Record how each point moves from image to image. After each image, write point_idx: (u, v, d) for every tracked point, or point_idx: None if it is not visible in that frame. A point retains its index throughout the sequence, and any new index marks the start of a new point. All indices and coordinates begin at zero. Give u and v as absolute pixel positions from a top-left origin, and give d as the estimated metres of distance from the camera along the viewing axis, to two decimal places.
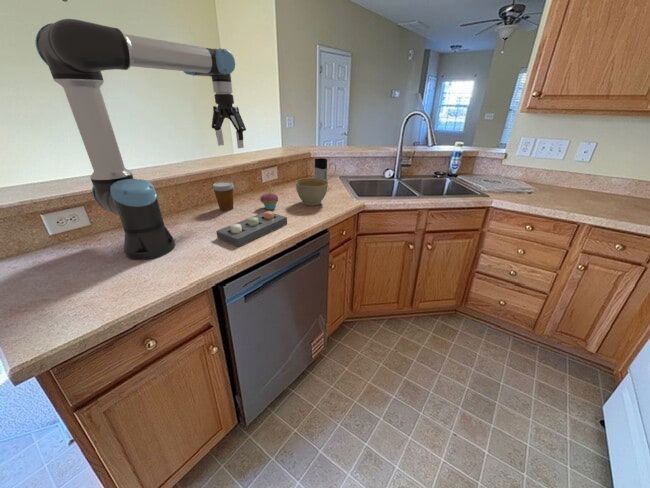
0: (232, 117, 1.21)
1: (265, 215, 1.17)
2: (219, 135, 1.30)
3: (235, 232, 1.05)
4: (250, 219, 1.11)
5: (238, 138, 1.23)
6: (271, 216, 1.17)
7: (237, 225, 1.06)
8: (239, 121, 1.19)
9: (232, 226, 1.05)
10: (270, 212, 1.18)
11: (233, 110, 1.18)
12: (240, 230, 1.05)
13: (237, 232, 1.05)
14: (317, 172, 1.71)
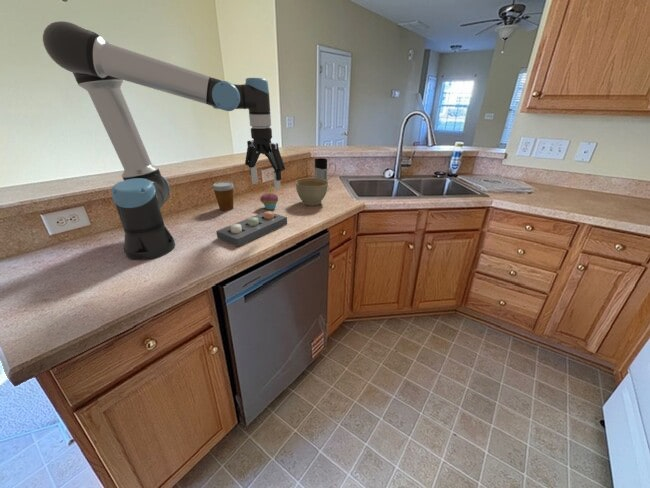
0: (270, 154, 1.05)
1: (265, 215, 1.17)
2: (254, 173, 1.14)
3: (235, 232, 1.05)
4: (250, 219, 1.11)
5: (275, 178, 1.07)
6: (271, 216, 1.17)
7: (237, 225, 1.06)
8: (278, 160, 1.03)
9: (232, 226, 1.05)
10: (270, 212, 1.18)
11: (272, 147, 1.02)
12: (240, 230, 1.05)
13: (237, 232, 1.05)
14: (317, 172, 1.71)
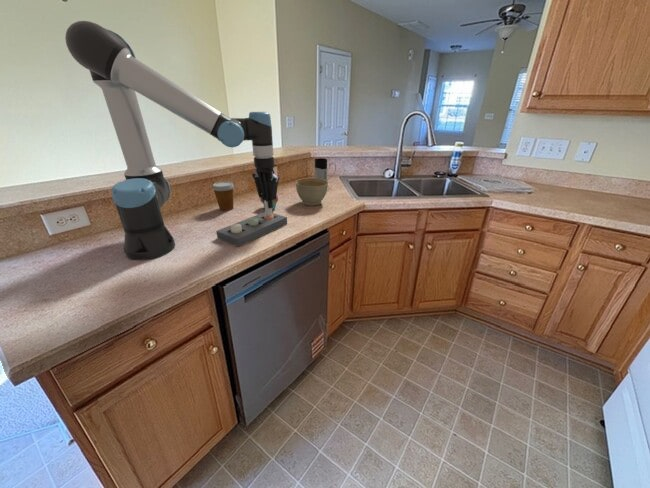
0: (268, 184, 1.11)
1: (265, 218, 1.17)
2: None
3: (235, 232, 1.05)
4: (250, 219, 1.11)
5: (267, 206, 1.15)
6: None
7: (237, 225, 1.06)
8: (273, 191, 1.11)
9: (232, 226, 1.05)
10: (270, 215, 1.19)
11: (273, 180, 1.08)
12: (240, 230, 1.05)
13: (237, 232, 1.05)
14: (317, 172, 1.71)
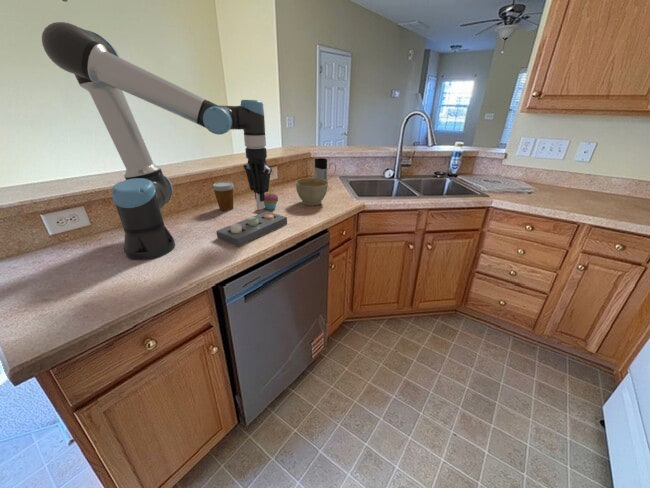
0: (260, 176, 1.07)
1: (265, 218, 1.17)
2: None
3: (235, 232, 1.05)
4: (250, 219, 1.11)
5: (259, 199, 1.11)
6: None
7: (237, 225, 1.06)
8: (265, 184, 1.07)
9: (232, 226, 1.05)
10: (270, 215, 1.19)
11: (265, 172, 1.04)
12: (240, 230, 1.05)
13: (237, 232, 1.05)
14: (317, 172, 1.71)
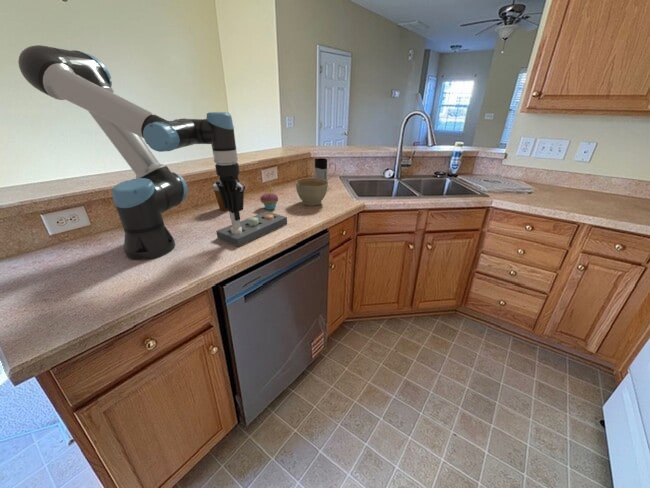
0: (233, 193, 0.99)
1: (265, 218, 1.17)
2: None
3: (235, 234, 1.05)
4: (250, 219, 1.11)
5: (234, 218, 1.03)
6: None
7: None
8: (239, 202, 0.98)
9: (232, 228, 1.05)
10: (270, 215, 1.19)
11: (237, 190, 0.95)
12: (240, 232, 1.06)
13: None
14: (317, 172, 1.71)
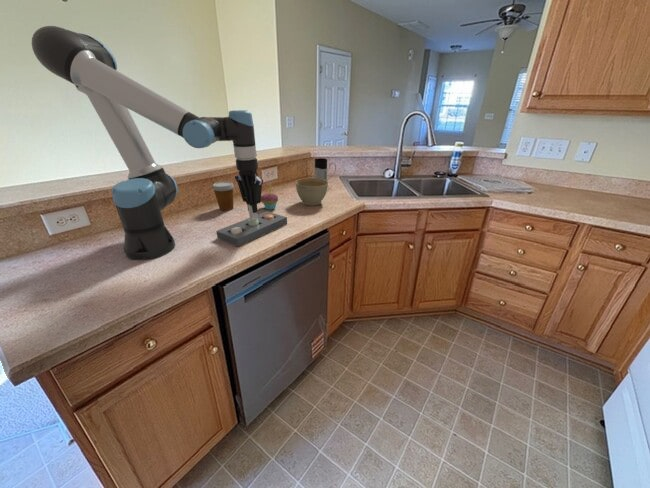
0: (252, 187, 1.05)
1: (265, 218, 1.17)
2: None
3: None
4: None
5: (252, 211, 1.09)
6: None
7: (237, 228, 1.07)
8: (257, 195, 1.04)
9: (233, 229, 1.06)
10: (270, 215, 1.19)
11: (256, 183, 1.01)
12: None
13: None
14: (317, 172, 1.71)
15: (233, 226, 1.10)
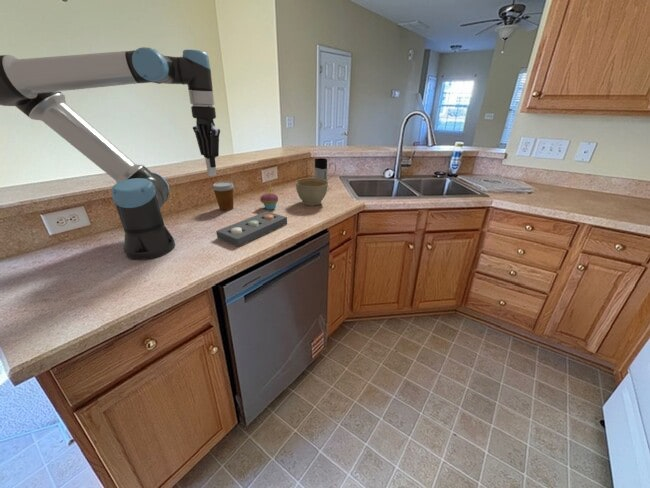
0: (209, 138, 0.99)
1: (265, 218, 1.17)
2: None
3: None
4: (250, 222, 1.12)
5: (209, 165, 1.03)
6: None
7: (237, 228, 1.07)
8: (214, 147, 0.99)
9: (233, 229, 1.06)
10: (270, 215, 1.19)
11: (212, 133, 0.96)
12: None
13: None
14: (317, 172, 1.71)
15: (233, 226, 1.10)
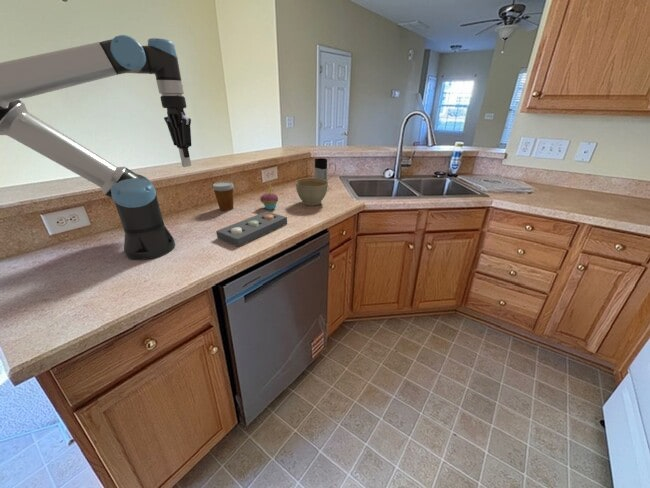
0: (181, 128, 0.99)
1: (265, 218, 1.17)
2: None
3: None
4: (250, 222, 1.12)
5: (183, 155, 1.04)
6: None
7: (237, 228, 1.07)
8: (186, 136, 0.99)
9: (233, 229, 1.06)
10: (270, 215, 1.19)
11: (183, 122, 0.96)
12: None
13: None
14: (317, 172, 1.71)
15: (233, 226, 1.10)
